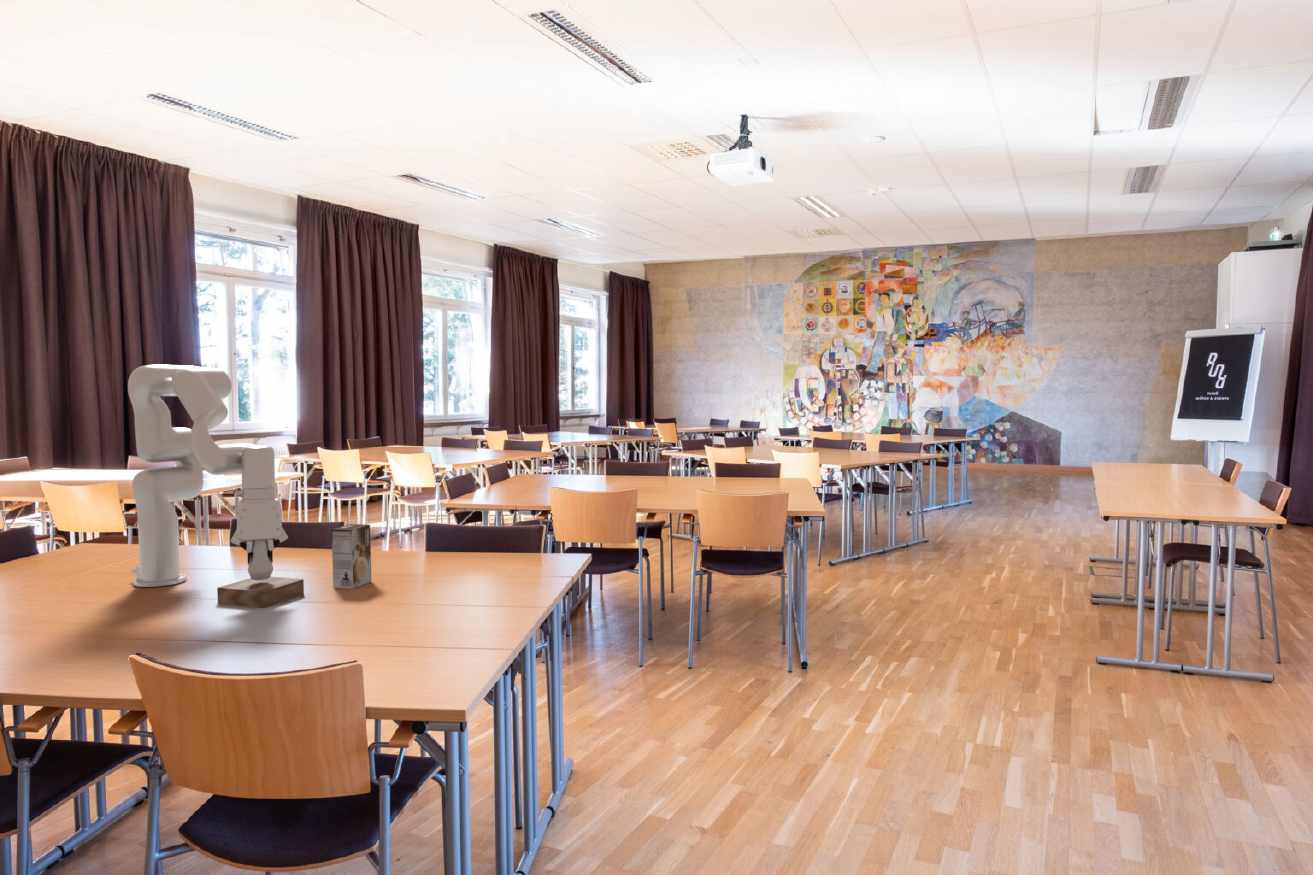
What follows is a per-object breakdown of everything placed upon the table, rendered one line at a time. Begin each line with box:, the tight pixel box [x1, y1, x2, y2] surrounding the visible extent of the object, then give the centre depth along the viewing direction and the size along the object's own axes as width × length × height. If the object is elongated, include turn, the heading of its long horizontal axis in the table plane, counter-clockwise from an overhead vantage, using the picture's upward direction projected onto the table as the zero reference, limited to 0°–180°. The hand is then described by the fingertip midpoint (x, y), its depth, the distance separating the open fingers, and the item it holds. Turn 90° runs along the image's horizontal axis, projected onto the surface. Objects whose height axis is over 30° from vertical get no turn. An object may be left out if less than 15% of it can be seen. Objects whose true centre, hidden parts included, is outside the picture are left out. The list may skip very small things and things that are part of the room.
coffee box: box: [331, 523, 373, 590], centre depth 226 cm, size 9×6×16 cm
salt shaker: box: [247, 540, 274, 580], centre depth 210 cm, size 6×6×13 cm
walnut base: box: [216, 576, 305, 609], centre depth 211 cm, size 14×14×4 cm
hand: (260, 565), depth 210 cm, fingers closed on salt shaker, 3 cm apart
